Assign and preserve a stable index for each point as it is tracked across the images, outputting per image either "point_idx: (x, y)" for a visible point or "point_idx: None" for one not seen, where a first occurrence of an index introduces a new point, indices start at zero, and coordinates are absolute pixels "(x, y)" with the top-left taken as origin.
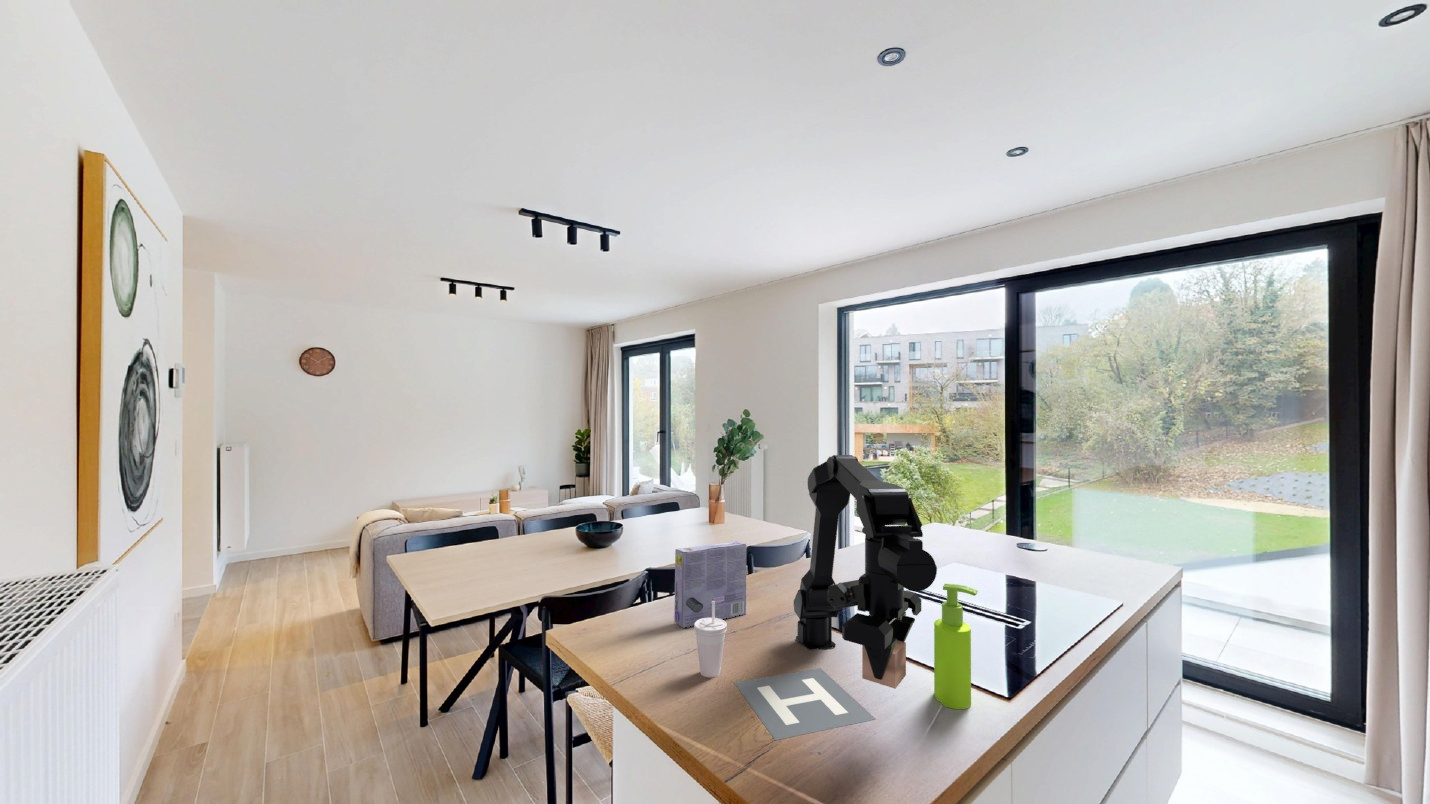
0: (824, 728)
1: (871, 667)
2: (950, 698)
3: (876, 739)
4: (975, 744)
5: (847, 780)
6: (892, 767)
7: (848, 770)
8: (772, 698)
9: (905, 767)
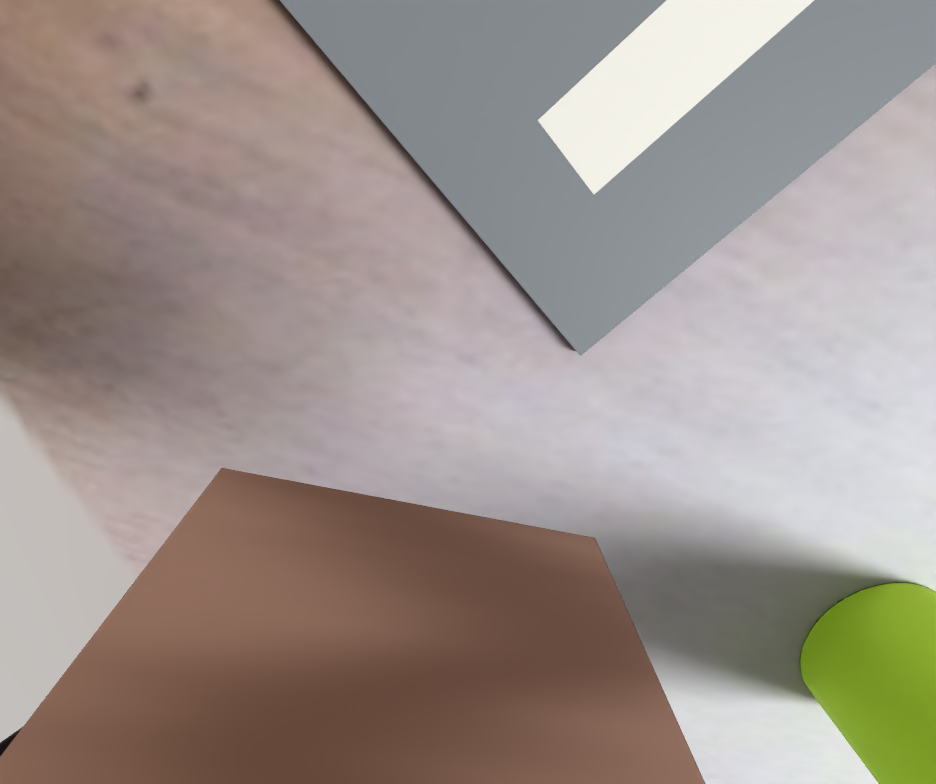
0: (362, 76)
1: (11, 735)
2: (832, 677)
3: (416, 371)
4: None
5: (11, 285)
6: (231, 461)
7: (88, 277)
8: None
9: None
